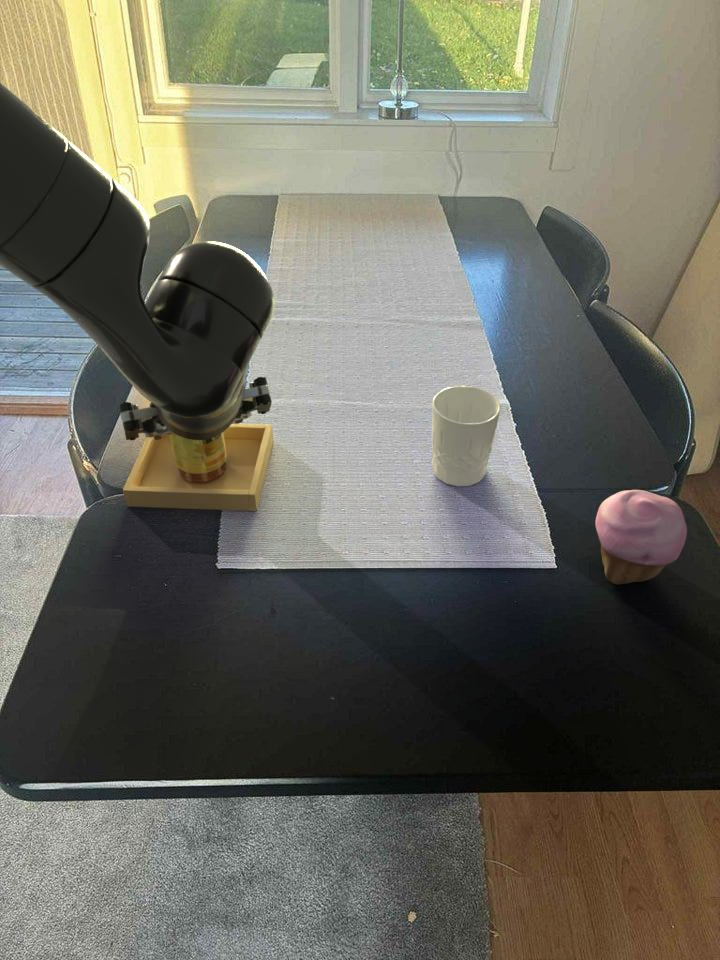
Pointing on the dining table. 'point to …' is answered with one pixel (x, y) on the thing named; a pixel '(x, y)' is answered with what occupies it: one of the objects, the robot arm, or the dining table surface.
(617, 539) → the cupcake
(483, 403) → the white cup
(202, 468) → the sauce bottle
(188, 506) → the serving tray
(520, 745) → the dining table surface
